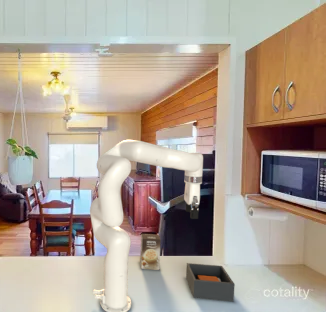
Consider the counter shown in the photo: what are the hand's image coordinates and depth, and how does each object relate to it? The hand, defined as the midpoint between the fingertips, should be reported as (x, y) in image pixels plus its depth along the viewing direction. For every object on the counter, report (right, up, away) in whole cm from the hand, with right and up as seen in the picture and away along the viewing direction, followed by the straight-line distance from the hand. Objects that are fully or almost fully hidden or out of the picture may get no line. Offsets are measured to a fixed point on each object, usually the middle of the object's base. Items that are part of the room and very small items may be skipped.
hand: (191, 214), depth 116 cm
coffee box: (-17, -29, +11) cm, 36 cm away
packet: (+4, -30, -8) cm, 32 cm away
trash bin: (+4, -31, -8) cm, 32 cm away
